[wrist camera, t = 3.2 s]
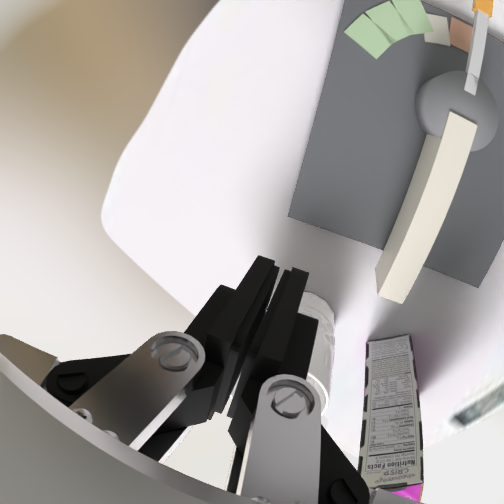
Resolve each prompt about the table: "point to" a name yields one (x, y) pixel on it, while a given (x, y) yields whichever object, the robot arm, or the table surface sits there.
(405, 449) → the candy bar box
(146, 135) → the table surface
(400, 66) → the tuner board
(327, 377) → the white cup
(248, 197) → the table surface
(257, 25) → the table surface
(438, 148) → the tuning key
